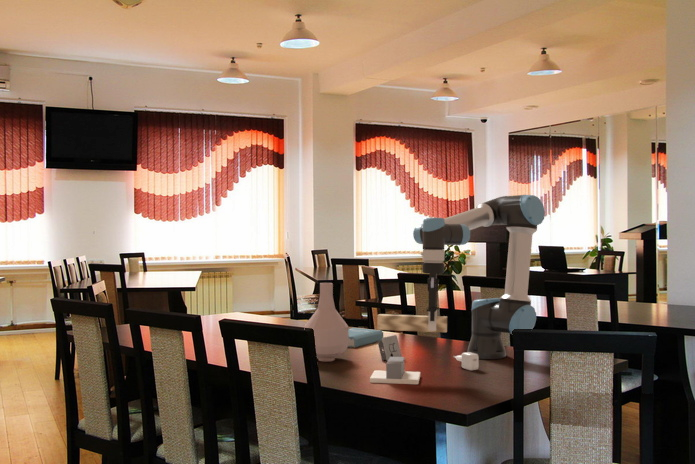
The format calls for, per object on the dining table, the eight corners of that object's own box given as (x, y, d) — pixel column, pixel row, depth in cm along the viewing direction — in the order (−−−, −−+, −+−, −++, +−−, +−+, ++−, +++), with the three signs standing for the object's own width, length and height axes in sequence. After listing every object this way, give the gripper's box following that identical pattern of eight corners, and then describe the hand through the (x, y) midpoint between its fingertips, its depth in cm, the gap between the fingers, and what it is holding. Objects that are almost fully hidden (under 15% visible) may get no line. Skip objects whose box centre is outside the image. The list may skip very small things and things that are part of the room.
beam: (446, 330, 225) (447, 316, 225) (446, 332, 221) (447, 317, 221) (378, 328, 229) (378, 313, 229) (377, 329, 225) (377, 315, 225)
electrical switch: (388, 362, 248) (386, 337, 249) (377, 361, 251) (375, 337, 252) (402, 358, 255) (400, 334, 256) (391, 358, 259) (389, 334, 259)
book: (354, 338, 306) (354, 327, 306) (383, 341, 297) (383, 330, 297) (325, 345, 288) (325, 333, 287) (355, 348, 278) (355, 337, 278)
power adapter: (450, 365, 241) (450, 350, 241) (461, 364, 244) (461, 348, 244) (469, 371, 232) (469, 355, 232) (480, 370, 234) (480, 353, 234)
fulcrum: (420, 376, 224) (420, 357, 224) (418, 384, 212) (418, 364, 212) (374, 374, 227) (374, 356, 227) (369, 382, 215) (369, 363, 215)
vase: (358, 359, 253) (358, 283, 253) (326, 366, 240) (326, 286, 240) (326, 353, 265) (326, 280, 265) (294, 360, 252) (294, 283, 252)
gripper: (423, 260, 233) (423, 325, 233) (420, 262, 216) (420, 332, 216) (444, 261, 232) (444, 326, 231) (443, 263, 215) (442, 333, 215)
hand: (432, 329), depth 224 cm, fingers closed on beam, 4 cm apart
